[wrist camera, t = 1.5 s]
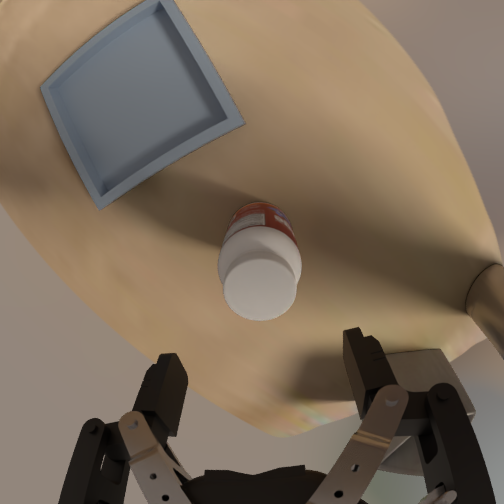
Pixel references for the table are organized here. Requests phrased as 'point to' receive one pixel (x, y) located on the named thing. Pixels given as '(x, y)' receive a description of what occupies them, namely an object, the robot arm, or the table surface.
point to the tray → (137, 100)
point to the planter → (419, 380)
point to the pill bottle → (259, 262)
